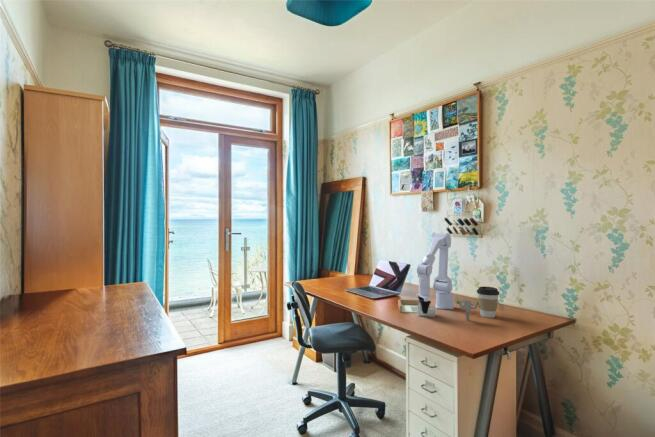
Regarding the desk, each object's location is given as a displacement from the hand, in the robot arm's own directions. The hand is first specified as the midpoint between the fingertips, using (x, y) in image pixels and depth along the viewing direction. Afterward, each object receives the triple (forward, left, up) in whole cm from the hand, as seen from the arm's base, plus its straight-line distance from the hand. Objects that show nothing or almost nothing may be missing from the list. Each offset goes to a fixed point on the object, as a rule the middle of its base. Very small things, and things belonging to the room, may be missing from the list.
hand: (424, 311), depth 186 cm
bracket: (0, 0, -2) cm, 2 cm away
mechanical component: (-21, +6, -2) cm, 22 cm away
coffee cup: (-34, -4, -2) cm, 34 cm away
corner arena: (+4, -11, -2) cm, 12 cm away
